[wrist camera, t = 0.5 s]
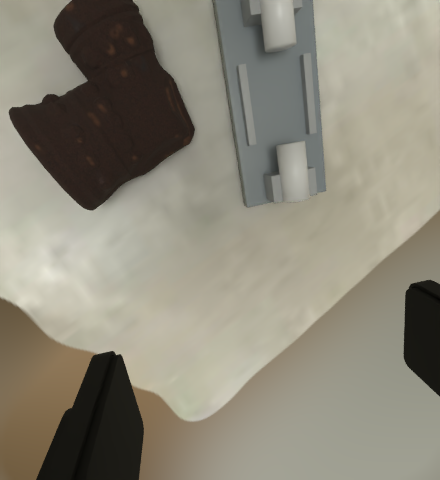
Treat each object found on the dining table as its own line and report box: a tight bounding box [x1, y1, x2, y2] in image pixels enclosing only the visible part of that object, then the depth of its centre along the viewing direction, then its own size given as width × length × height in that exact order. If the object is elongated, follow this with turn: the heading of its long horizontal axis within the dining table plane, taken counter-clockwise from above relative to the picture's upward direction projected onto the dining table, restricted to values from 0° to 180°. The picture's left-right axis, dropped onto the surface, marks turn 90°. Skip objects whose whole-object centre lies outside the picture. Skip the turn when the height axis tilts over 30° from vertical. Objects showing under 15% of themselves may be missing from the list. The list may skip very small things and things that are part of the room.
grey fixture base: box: [213, 0, 326, 207], centre depth 32 cm, size 22×10×6 cm, turn 10°
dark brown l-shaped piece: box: [9, 0, 195, 210], centre depth 30 cm, size 10×15×15 cm
